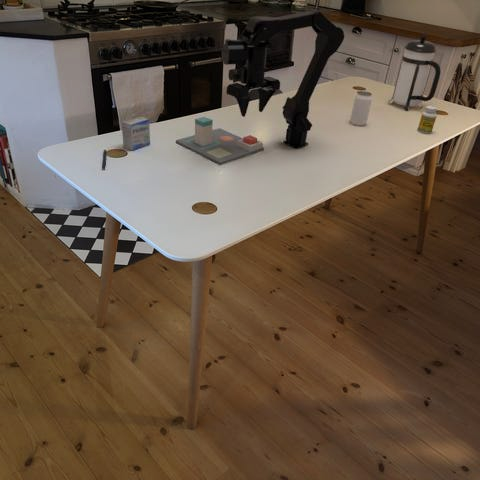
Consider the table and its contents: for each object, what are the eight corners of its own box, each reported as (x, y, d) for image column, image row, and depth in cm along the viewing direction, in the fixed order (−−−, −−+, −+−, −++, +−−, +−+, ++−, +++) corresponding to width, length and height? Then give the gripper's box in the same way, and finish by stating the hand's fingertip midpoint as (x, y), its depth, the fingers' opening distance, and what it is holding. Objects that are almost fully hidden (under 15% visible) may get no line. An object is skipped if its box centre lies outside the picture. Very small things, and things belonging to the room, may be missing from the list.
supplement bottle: (429, 129, 184) (436, 105, 178) (433, 134, 179) (440, 110, 174) (415, 128, 184) (422, 104, 179) (418, 133, 179) (426, 108, 174)
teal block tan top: (211, 143, 155) (212, 120, 150) (202, 146, 152) (203, 122, 148) (203, 139, 157) (204, 116, 153) (194, 142, 154) (195, 119, 150)
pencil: (101, 171, 135) (103, 150, 147) (105, 171, 135) (107, 150, 147) (101, 168, 134) (103, 147, 146) (105, 168, 134) (106, 147, 147)
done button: (256, 143, 154) (257, 138, 153) (249, 145, 152) (250, 140, 151) (249, 140, 156) (250, 135, 155) (243, 142, 154) (243, 137, 153)
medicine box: (132, 151, 147) (130, 125, 142) (122, 147, 149) (121, 121, 144) (150, 144, 152) (149, 119, 148) (141, 141, 155) (140, 115, 150)
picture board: (264, 149, 155) (264, 142, 154) (220, 164, 143) (220, 157, 141) (219, 130, 168) (219, 123, 166) (175, 142, 155) (175, 135, 154)
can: (365, 121, 187) (371, 91, 180) (367, 127, 181) (374, 96, 175) (349, 119, 187) (355, 90, 180) (350, 125, 182) (356, 94, 175)
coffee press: (387, 109, 203) (405, 35, 186) (388, 99, 216) (405, 29, 199) (428, 115, 199) (450, 41, 183) (427, 105, 212) (447, 34, 196)
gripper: (258, 54, 150) (254, 102, 159) (215, 61, 139) (213, 112, 147) (283, 61, 144) (278, 111, 152) (241, 69, 132) (237, 122, 141)
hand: (252, 114), depth 148 cm, fingers open, 8 cm apart
